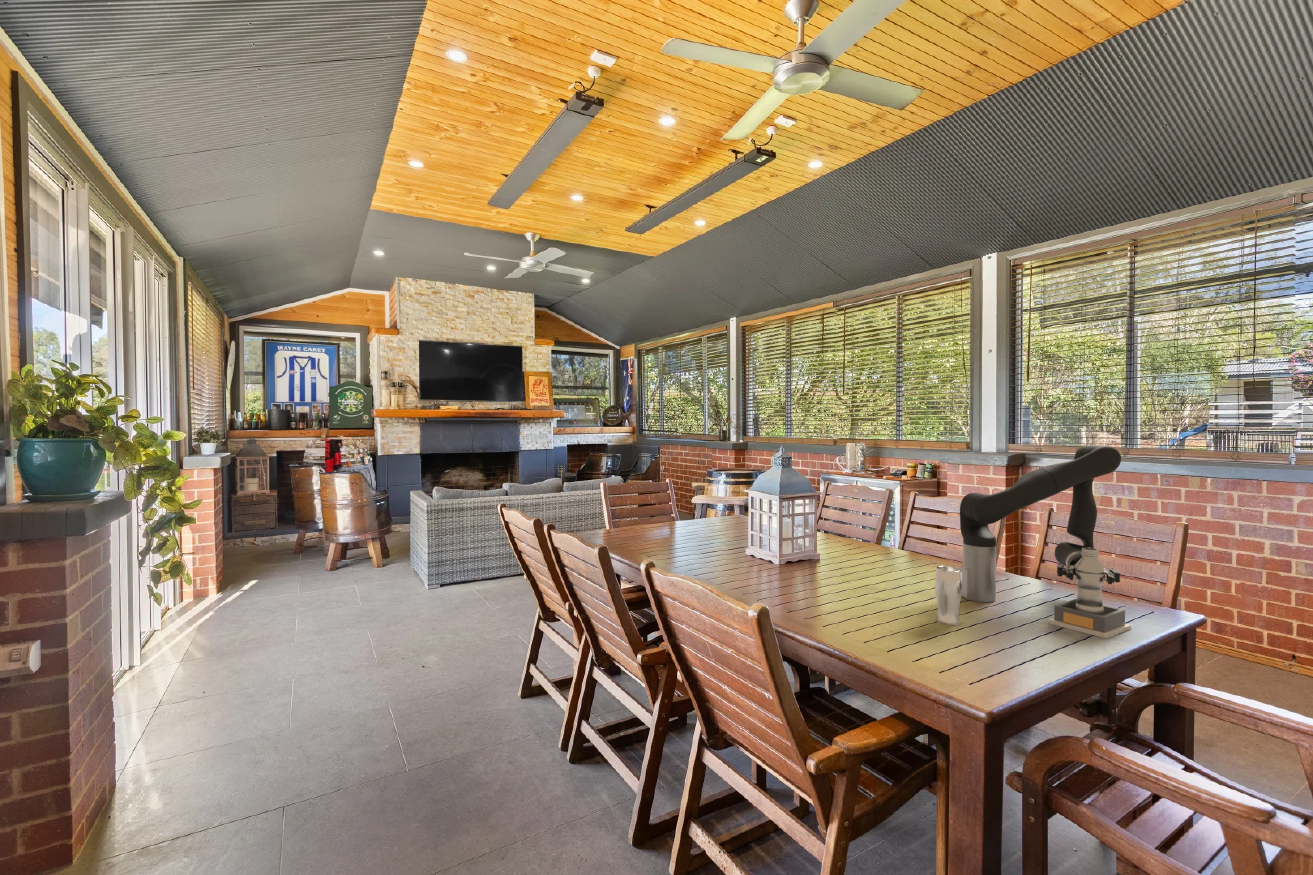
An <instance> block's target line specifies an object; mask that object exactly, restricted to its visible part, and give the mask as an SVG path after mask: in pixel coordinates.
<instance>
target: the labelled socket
mask: <svg viewBox="0 0 1313 875" xmlns="http://www.w3.org/2000/svg"><path fill="white" fill-rule="evenodd" d="M1076 603H1077V598H1075V599H1074V598H1073V599H1072V600H1069V601H1066V602H1062V603H1058V604H1055V605H1054V606H1053V607H1054V608H1053V610H1054V612H1053V614H1054V615H1053V617H1051V618H1050V619H1048V624H1050V625H1053V626H1058V627H1061V628H1066V629H1069V630H1073V631H1077V632H1081V633H1084V634H1089V635H1092V636H1095V637H1100V638H1102V639H1110V638H1112V637H1115V636H1117V635H1120V634H1122V633H1124V632H1126V631H1129V630H1131V629H1132V625H1131V624H1127V623H1126V609H1121V608H1117V607H1112V606H1109V605H1104V604H1103V608H1104V613H1105V615H1103V616H1100V615H1096V614H1092V613H1088V612H1083V611H1079V610H1075V606H1076ZM1119 633H1120V634H1119Z"/></svg>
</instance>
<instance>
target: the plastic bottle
mask: <svg viewBox="0 0 1313 875" xmlns="http://www.w3.org/2000/svg"><path fill="white" fill-rule="evenodd" d="M1081 555H1083V556H1082V558H1081V559H1080V560H1079V561H1078V562H1077V563H1076V566H1075V570H1076V577H1077V580H1076V584H1077V585H1076V586H1077V594H1076V595H1077V596H1076V599H1077V603H1076V606H1075V610H1079V611H1083V612H1088V613H1092V614H1096V615H1100V616H1103V615H1105V613H1104V608H1103V605H1104V604H1103V583H1104V581H1103V577H1104V569H1105V568H1104V565H1103V564H1102V562H1101V561H1100V560H1099V559H1098V558H1099V557H1100V554H1099V549H1097V548H1094V549H1093V548H1082V553H1081Z"/></svg>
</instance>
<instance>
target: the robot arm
mask: <svg viewBox="0 0 1313 875" xmlns="http://www.w3.org/2000/svg"><path fill="white" fill-rule="evenodd" d="M1121 463H1122V455H1121V453H1120V451H1119V450H1118V449H1116V448H1115V447H1113V446H1110V445H1105V444H1100V445H1099V444H1098V445H1096V444H1095V445H1093V444H1092V445H1085V446H1084V445H1083V446H1082V447H1079V448H1078V449H1077V450H1076V452H1075V454H1074V458H1073V459H1072V460H1069V461H1064V462H1059V463H1053V464H1049V465H1045V466H1042V467H1038V468H1037V469H1034V470H1032V471H1030V472H1027V473H1025V474H1023V475H1022V476H1020V477H1019V478H1018V479H1017V480H1016V482H1014V484H1013V485H1012V486H1010V487H1009V488H1006V489H1005V490H1002V491H999V492H995V493H992V494H986V493H985V494H984V493H979V492H969V493H967V494H965V495H964V497H962V499H961V502H960V505H959V523H960V524H959V525H960V533H961V537H962V542H963V544H962V565H960V569H962V581H963V586H962V595H961V598H962V597H963V599H964V600H966V601H972V602H978V603H979V602H980V603H993V602H995V601H996V600H997V599H996V598H997V597H996V595H997V594H996V592H997V589H996V588H997V584H996V583H997V537H996V536H995V535H994V534H993V533H992V531H991V530H990V528H989V527H990V526H989V525H992V524H994V523H995V524H996V523H997V522H999V521H1000V520H1003V519H1005V518H1006V517H1008V516H1010V515H1011V514H1014V513H1015V512H1017V511H1019V510H1021V509H1024V508H1027V507H1028V506H1031V505H1034V504H1036V503H1038V502H1040V501H1044V500H1047V499H1048V498H1051V497H1052V496H1055V495H1057V494H1059V493H1061V492H1064V491H1066V490H1068V489H1071V488H1072V499H1071V507H1070V508H1071V509H1070V511H1069V512H1070V513H1069V516H1068V521H1067V527H1066V533H1067V534H1069V535H1070V536H1073V537H1075V538H1077V539H1078V540H1080V541H1081V542H1082V544H1083V545H1082V544H1077V543H1072V542H1069V541H1062V542H1059V543H1058V544H1057V545H1056V546H1055V549H1054V557H1055V560H1056V561H1057V563H1056V575H1057V576H1058V577H1061V578H1062V577H1063V576H1064V577H1065V578H1066V579H1069V581H1074V579H1075V580H1076V581H1077V577H1076V570H1075V566H1076V563H1077V562H1078V561H1079V560H1080V559H1081V558H1082V556H1083V555H1081V553H1082V548H1093V549H1095V545H1094V535H1095V534H1094V533H1095V528H1096V523H1097V518H1098V508H1097V504H1096V501H1095V496H1094V493H1093V483H1094V479H1095V478H1098V477H1102V476H1105V475H1108V474H1112V473H1113V472H1115V471H1116V470H1117V469H1118V468H1119V467H1120V465H1121ZM1103 582H1106V583H1107V584H1108V585H1113V584H1114V583H1115V582H1116V583H1120V582H1121V572H1119V571H1118V570H1117V569H1116V568H1109V569H1108V570H1106V568H1104V577H1103Z"/></svg>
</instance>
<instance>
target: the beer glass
mask: <svg viewBox="0 0 1313 875" xmlns="http://www.w3.org/2000/svg"><path fill="white" fill-rule="evenodd" d="M962 586H963V581H962V569H961V567H957V566H953V565H952V566H950V565H938V566H935V575H934V588H935V589H934V591H935V597H936V601H937V614H936V618H935V620H936V622H937V623H939V624H942V625H946V626H958V625H960V624H961V618H960V606H961V605H960V604H961V600H962V596H961V595H962Z"/></svg>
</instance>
